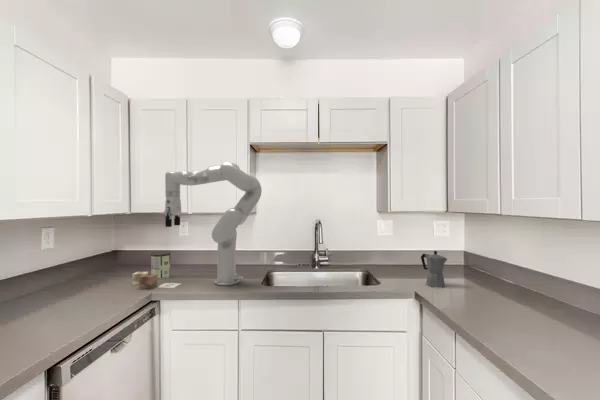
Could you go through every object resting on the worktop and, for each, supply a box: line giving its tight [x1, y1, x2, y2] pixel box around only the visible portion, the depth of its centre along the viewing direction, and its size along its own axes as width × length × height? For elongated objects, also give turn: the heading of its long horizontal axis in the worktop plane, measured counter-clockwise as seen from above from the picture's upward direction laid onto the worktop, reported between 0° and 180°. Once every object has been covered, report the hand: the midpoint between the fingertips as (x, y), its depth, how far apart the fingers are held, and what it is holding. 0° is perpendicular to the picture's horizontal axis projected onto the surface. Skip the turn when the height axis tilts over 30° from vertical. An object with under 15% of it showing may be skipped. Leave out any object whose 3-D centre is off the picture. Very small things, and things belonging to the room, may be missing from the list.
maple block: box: [132, 271, 149, 286], centre depth 179 cm, size 6×6×6 cm
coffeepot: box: [420, 250, 448, 288], centre depth 178 cm, size 15×9×18 cm, turn 33°
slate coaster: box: [135, 285, 160, 291], centre depth 170 cm, size 8×8×1 cm
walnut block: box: [138, 273, 158, 290], centre depth 170 cm, size 6×6×6 cm
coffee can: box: [150, 251, 171, 280], centre depth 193 cm, size 10×10×14 cm
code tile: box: [158, 282, 182, 289], centre depth 175 cm, size 9×9×1 cm
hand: (172, 225), depth 185 cm, fingers open, 9 cm apart
